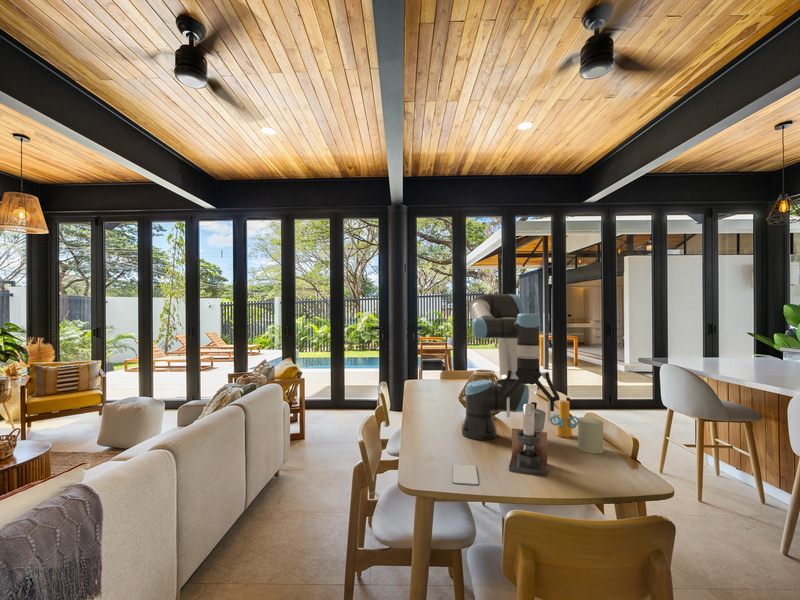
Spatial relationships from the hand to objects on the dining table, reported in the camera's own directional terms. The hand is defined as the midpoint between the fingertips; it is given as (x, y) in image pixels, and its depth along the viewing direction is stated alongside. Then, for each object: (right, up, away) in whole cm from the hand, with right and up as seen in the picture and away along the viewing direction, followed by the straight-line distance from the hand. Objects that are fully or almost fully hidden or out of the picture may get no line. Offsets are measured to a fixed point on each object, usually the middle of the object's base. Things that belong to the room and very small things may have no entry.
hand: (528, 418), depth 135 cm
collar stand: (0, -17, -1) cm, 17 cm away
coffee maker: (+8, -18, +18) cm, 26 cm away
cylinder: (+27, -18, +35) cm, 48 cm away
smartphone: (-23, -17, -8) cm, 30 cm away
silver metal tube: (0, -15, -1) cm, 15 cm away
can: (+30, -18, +18) cm, 39 cm away
